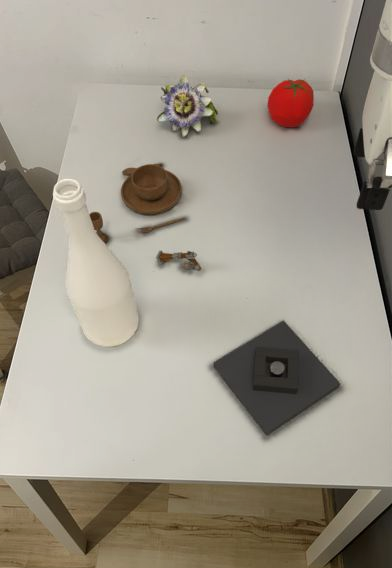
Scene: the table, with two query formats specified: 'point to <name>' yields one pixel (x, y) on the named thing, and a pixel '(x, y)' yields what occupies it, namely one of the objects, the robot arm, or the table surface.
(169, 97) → the passion flower
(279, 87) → the tomato
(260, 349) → the black block
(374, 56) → the robot arm
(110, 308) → the wine bottle
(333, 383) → the base pad
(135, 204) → the place setting
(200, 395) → the table surface
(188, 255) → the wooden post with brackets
